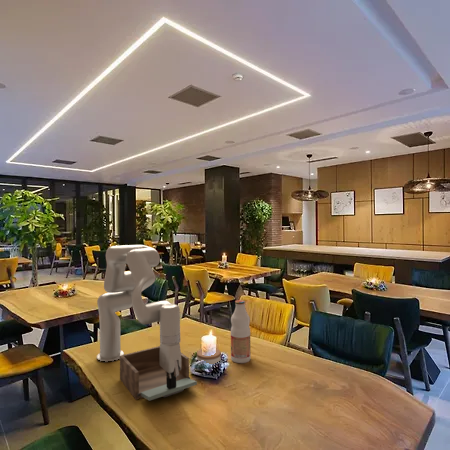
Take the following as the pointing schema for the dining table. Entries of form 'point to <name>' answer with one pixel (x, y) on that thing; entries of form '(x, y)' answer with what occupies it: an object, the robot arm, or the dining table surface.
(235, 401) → the dining table surface
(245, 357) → the fruit juice
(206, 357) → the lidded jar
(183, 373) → the crate
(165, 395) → the panel
